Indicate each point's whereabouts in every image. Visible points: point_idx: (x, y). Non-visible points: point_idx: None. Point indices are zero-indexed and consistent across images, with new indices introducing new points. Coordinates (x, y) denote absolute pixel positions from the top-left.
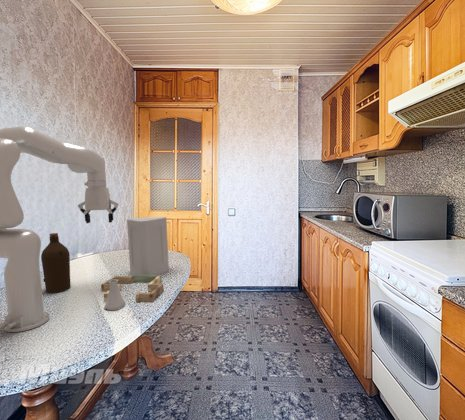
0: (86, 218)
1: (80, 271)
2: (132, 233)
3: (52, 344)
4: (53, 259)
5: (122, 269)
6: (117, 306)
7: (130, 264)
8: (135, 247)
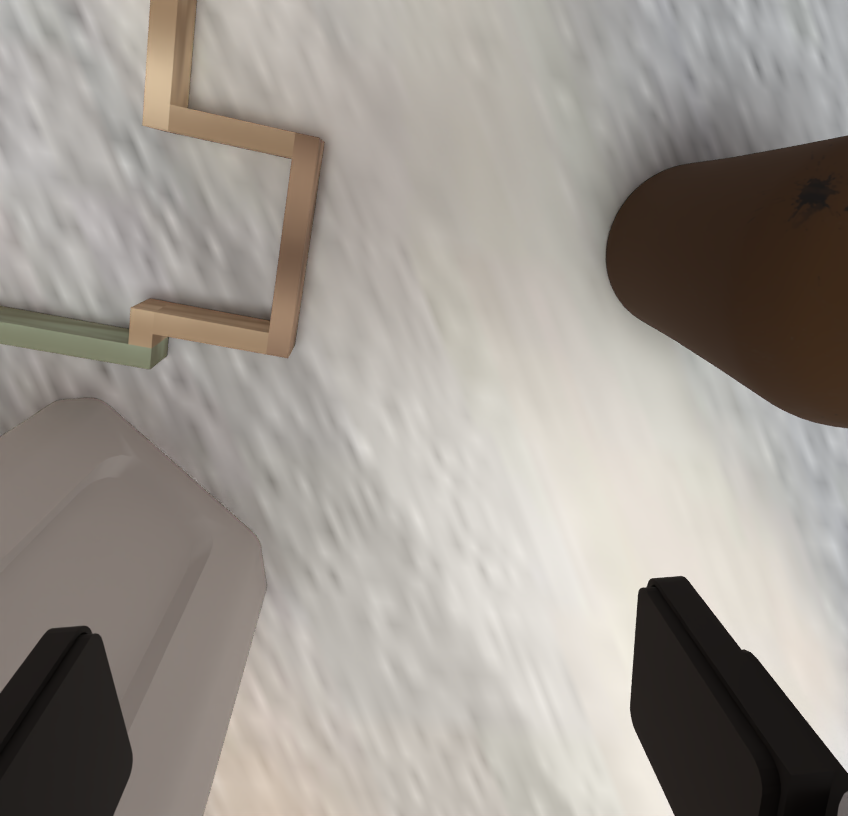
0: (733, 659)
1: None
2: None
3: None
4: (846, 136)
5: (361, 640)
6: None
7: (232, 572)
8: None
